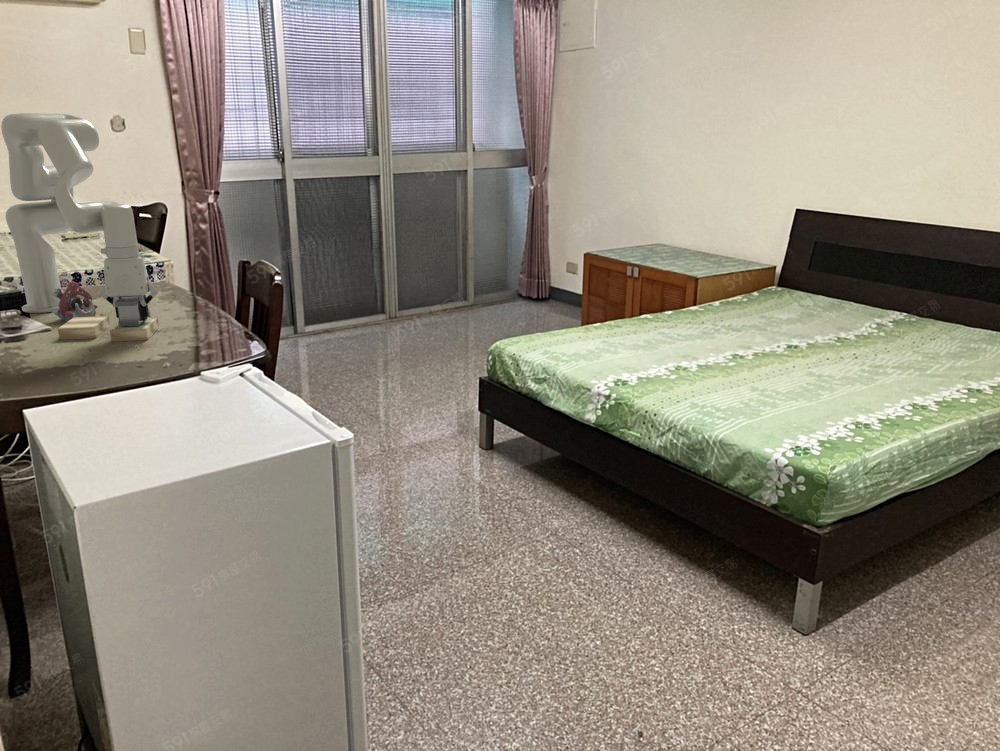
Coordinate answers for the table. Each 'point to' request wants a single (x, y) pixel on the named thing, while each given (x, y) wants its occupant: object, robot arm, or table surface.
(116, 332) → the stand
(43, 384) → the table surface
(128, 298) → the block
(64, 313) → the motor mount assembly
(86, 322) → the stand
